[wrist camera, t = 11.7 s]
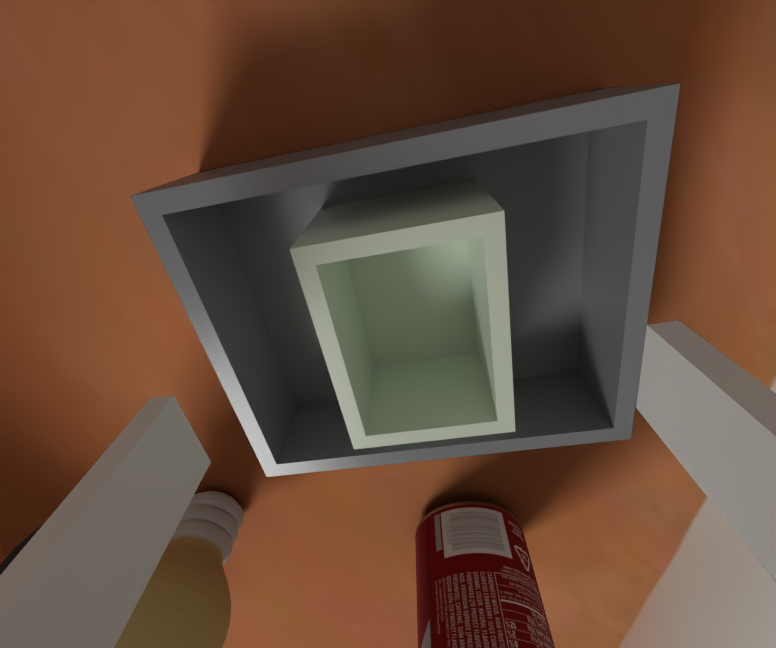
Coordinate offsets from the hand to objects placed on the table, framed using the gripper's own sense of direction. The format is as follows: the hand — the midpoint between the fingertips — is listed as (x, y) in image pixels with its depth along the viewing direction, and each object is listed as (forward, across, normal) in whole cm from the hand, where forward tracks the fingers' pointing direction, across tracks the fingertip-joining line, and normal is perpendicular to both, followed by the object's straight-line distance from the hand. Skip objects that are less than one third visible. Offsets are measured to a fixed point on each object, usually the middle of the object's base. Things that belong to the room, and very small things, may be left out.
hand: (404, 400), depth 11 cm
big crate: (+8, +1, 0) cm, 8 cm away
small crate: (+7, +1, 0) cm, 7 cm away
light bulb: (+8, -14, -13) cm, 21 cm away
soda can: (+8, +1, -17) cm, 19 cm away
